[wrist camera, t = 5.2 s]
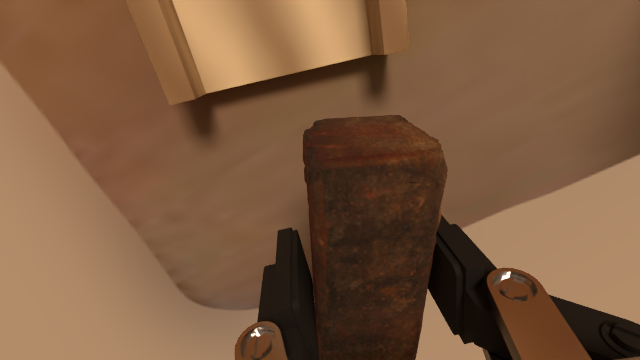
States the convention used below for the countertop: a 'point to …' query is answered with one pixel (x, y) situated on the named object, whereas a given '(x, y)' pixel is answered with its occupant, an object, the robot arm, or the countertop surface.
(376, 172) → the brick
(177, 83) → the rail board
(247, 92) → the countertop surface
